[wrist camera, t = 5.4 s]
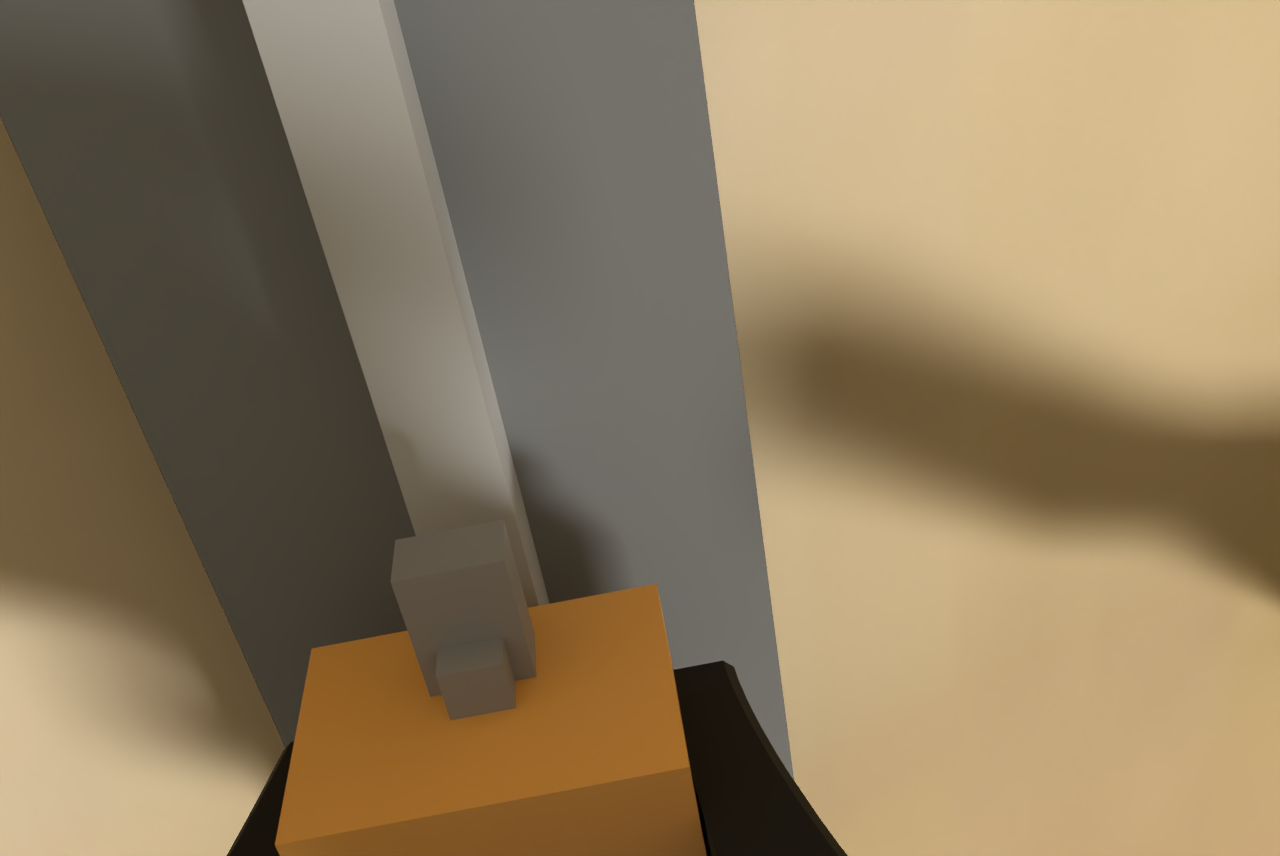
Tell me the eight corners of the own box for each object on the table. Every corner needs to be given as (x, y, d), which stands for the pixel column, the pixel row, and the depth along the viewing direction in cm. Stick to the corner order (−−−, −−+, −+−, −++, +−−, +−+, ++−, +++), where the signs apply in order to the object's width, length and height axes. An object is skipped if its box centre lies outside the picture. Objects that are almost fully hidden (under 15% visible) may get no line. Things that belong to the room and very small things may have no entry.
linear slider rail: (791, 833, 18) (902, 1262, 13) (396, 907, 18) (360, 1366, 13) (633, -342, 10) (766, -354, 5) (-77, -211, 10) (-619, -98, 5)
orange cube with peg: (706, 842, 14) (742, 1037, 12) (414, 897, 14) (400, 1101, 12) (634, 469, 11) (664, 642, 9) (266, 539, 11) (216, 727, 9)
